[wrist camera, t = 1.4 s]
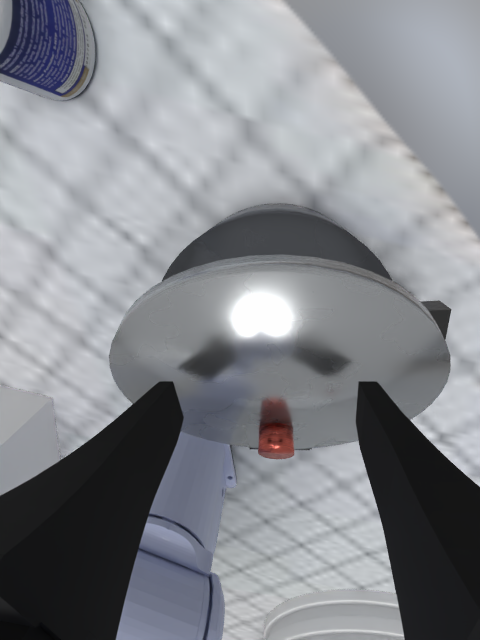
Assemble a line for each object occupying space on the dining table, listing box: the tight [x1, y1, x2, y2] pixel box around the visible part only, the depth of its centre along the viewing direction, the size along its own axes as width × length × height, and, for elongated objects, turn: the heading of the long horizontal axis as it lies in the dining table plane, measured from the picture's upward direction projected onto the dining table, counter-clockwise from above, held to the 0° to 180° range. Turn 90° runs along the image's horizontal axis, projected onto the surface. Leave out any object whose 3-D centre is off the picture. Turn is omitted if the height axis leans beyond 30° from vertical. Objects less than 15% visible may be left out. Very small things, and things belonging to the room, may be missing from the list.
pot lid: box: [109, 255, 450, 459], centre depth 13 cm, size 14×14×2 cm
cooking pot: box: [162, 204, 451, 449], centre depth 19 cm, size 14×18×6 cm
